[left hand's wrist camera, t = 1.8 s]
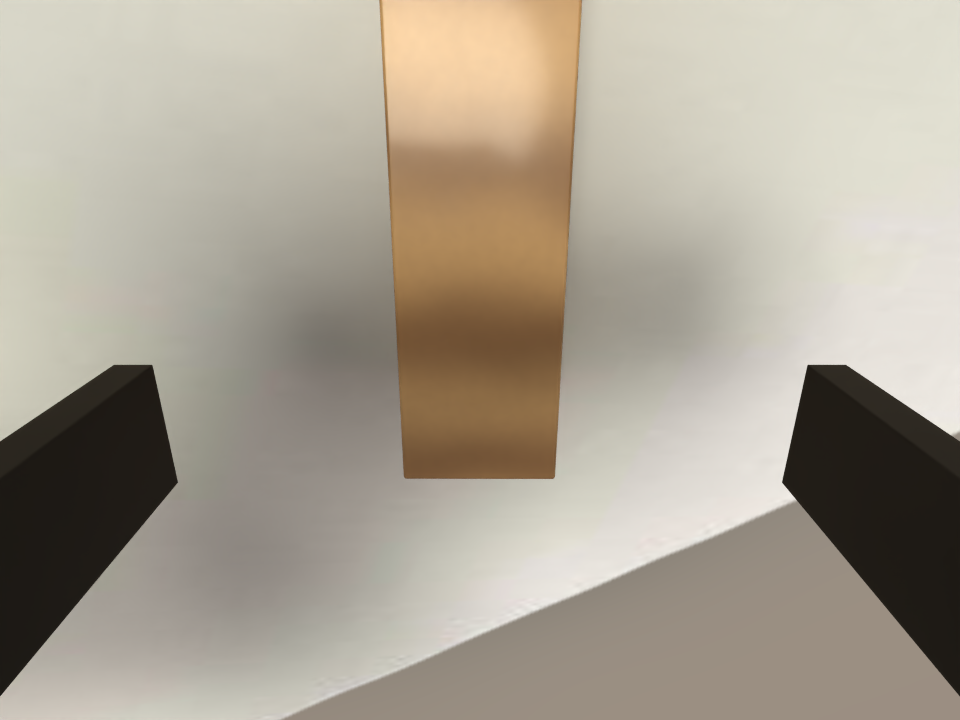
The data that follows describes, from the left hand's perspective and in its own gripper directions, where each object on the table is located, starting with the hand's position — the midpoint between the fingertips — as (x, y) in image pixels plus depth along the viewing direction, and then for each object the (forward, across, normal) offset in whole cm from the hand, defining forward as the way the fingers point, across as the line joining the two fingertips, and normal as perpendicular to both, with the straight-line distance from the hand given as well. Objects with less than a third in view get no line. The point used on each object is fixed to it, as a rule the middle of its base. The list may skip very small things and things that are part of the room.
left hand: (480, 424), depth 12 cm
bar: (+14, 0, -32) cm, 35 cm away
